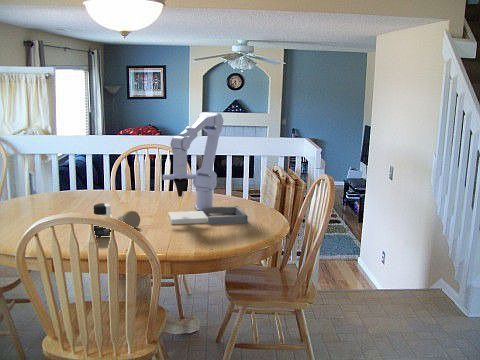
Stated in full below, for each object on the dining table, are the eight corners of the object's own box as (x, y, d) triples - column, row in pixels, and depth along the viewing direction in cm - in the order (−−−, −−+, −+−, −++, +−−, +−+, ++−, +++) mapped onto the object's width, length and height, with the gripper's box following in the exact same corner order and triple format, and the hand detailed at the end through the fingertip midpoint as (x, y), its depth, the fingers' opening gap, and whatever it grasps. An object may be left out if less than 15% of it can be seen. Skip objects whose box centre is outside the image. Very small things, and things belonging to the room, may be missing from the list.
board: (168, 216, 220) (168, 212, 220) (202, 215, 224) (202, 210, 224) (171, 224, 209) (171, 219, 209) (207, 222, 213) (207, 218, 212)
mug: (124, 223, 210) (135, 204, 207) (134, 238, 204) (145, 219, 201) (109, 221, 204) (119, 202, 201) (118, 237, 199) (130, 217, 195)
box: (201, 213, 226) (201, 207, 226) (237, 212, 230) (237, 206, 230) (208, 224, 210) (208, 217, 210) (247, 222, 214) (247, 215, 214)
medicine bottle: (92, 238, 188) (91, 206, 185) (93, 233, 194) (92, 202, 192) (112, 237, 189) (112, 206, 187) (112, 232, 196) (111, 201, 194)
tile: (208, 218, 222) (208, 213, 221) (221, 216, 224) (221, 212, 224) (213, 221, 216) (214, 217, 216) (226, 220, 219) (226, 215, 218)
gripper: (163, 166, 209) (163, 198, 212) (198, 165, 213) (198, 197, 216) (162, 163, 216) (162, 195, 219) (196, 163, 220) (195, 194, 222)
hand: (180, 196), depth 218 cm, fingers closed
